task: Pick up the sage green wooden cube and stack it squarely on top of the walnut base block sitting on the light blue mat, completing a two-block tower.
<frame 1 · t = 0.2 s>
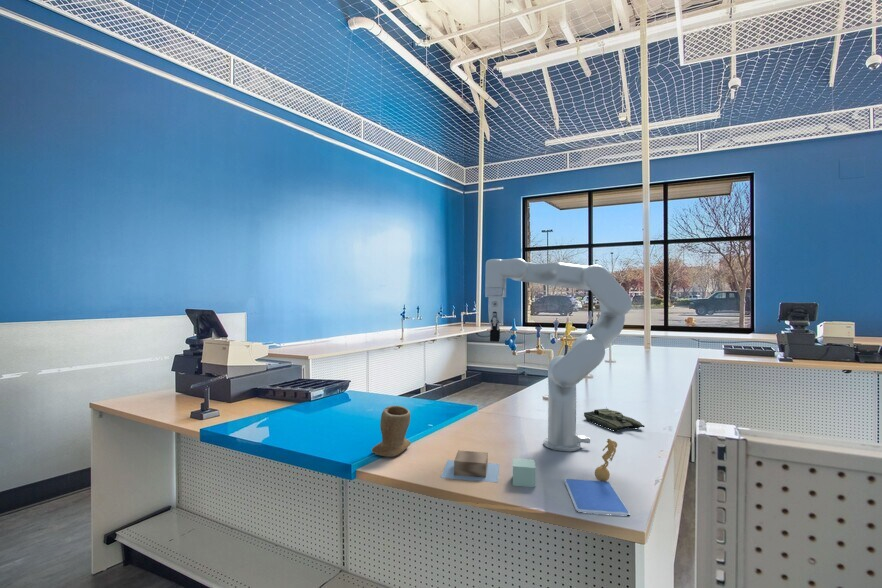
hand: (495, 340, 156), 37 cm above the countertop, tool pointing down, fingers open, 9 cm apart
toy tank: (617, 428, 177), on the countertop
sage cube: (523, 484, 119), on the countertop
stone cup: (394, 452, 144), on the countertop
figurine: (605, 481, 122), on the countertop
light blue mat: (471, 473, 126), on the countertop
tablet computer: (594, 499, 112), on the countertop
walnut base block: (471, 470, 126), point 1 cm above the countertop, touching light blue mat
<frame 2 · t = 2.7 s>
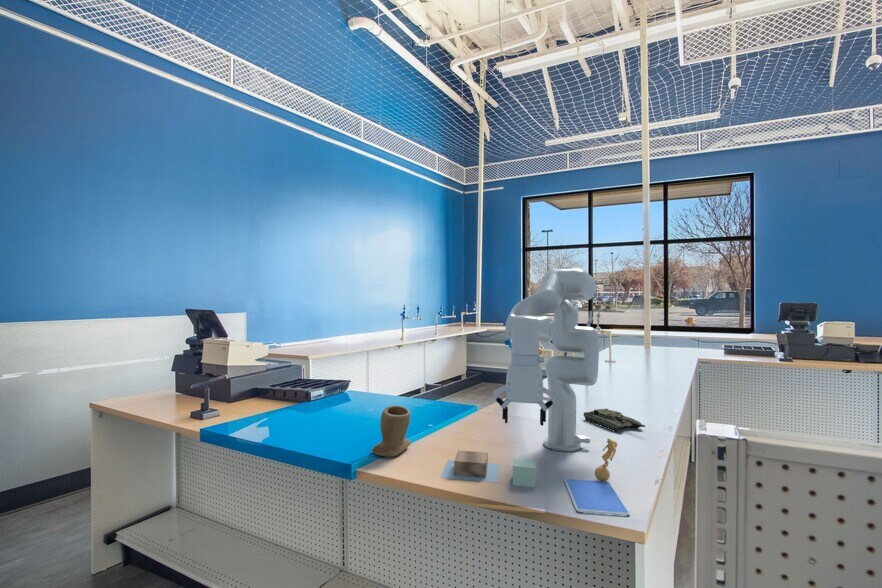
hand: (523, 423, 119), 17 cm above the countertop, tool pointing down, fingers open, 9 cm apart
nothing on the countertop moved.
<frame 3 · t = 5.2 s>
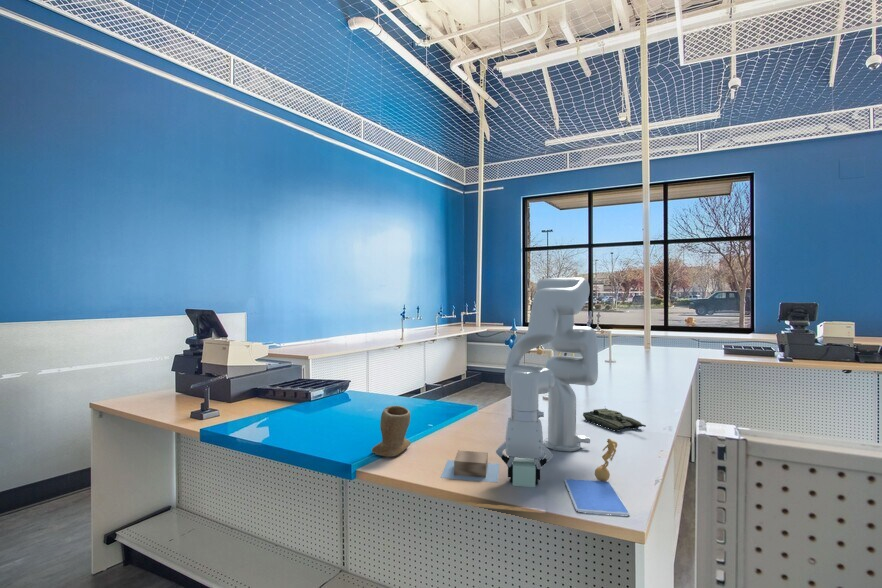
hand: (523, 480, 119), 1 cm above the countertop, tool pointing down, fingers closed on sage cube, 6 cm apart
sage cube: (523, 484, 119), on the countertop, touching gripper
everything else where it was.
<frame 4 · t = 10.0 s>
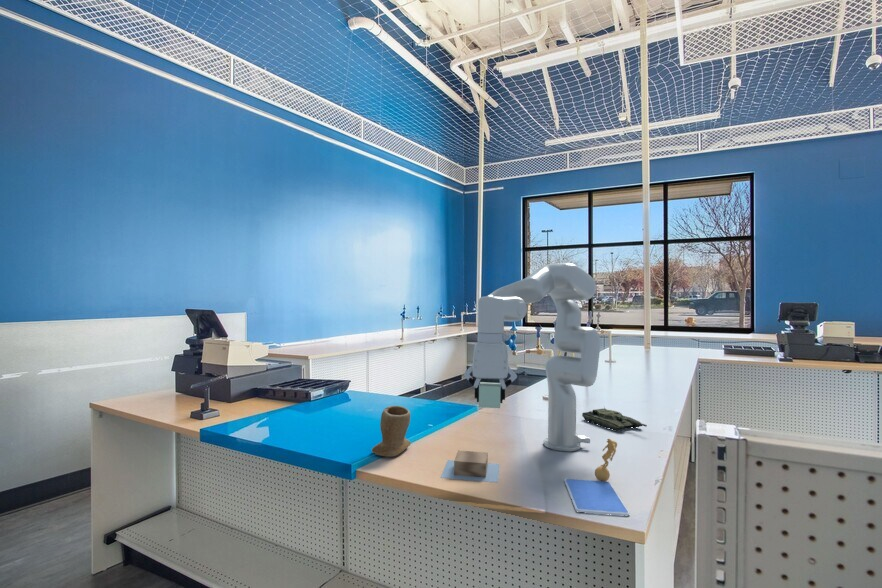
hand: (489, 401, 124), 22 cm above the countertop, tool pointing down, fingers closed on sage cube, 6 cm apart
sage cube: (489, 405, 124), point 20 cm above the countertop, touching gripper
everything else where it was.
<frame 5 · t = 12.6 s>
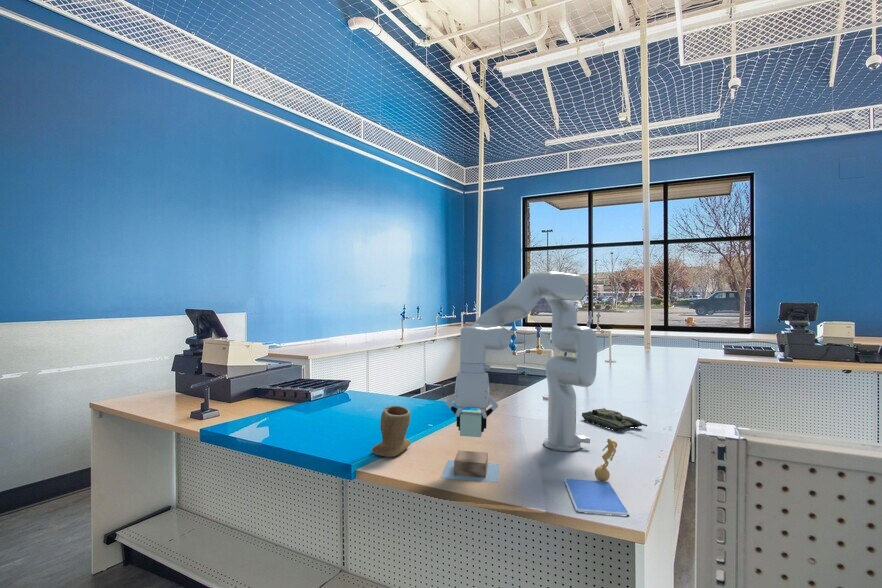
hand: (471, 429, 126), 13 cm above the countertop, tool pointing down, fingers closed on sage cube, 6 cm apart
sage cube: (471, 433, 126), point 12 cm above the countertop, touching gripper
everything else where it was.
when the fingers open (7 cm above the countertop, at t = 14.8 s): sage cube drops 1 cm, resting on walnut base block.
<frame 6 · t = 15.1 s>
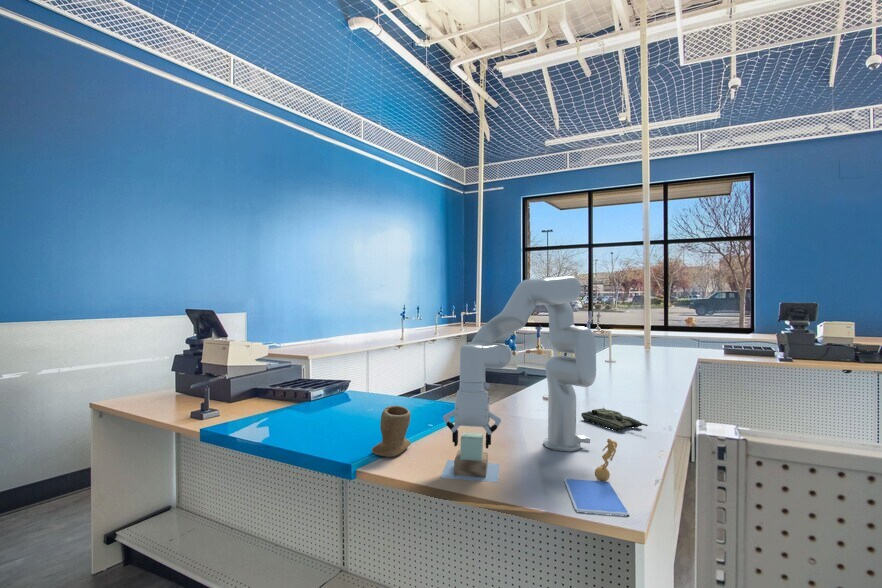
hand: (471, 445, 126), 8 cm above the countertop, tool pointing down, fingers open, 8 cm apart
sage cube: (471, 456, 126), point 5 cm above the countertop, touching walnut base block
walnut base block: (471, 470, 126), point 1 cm above the countertop, touching light blue mat, sage cube
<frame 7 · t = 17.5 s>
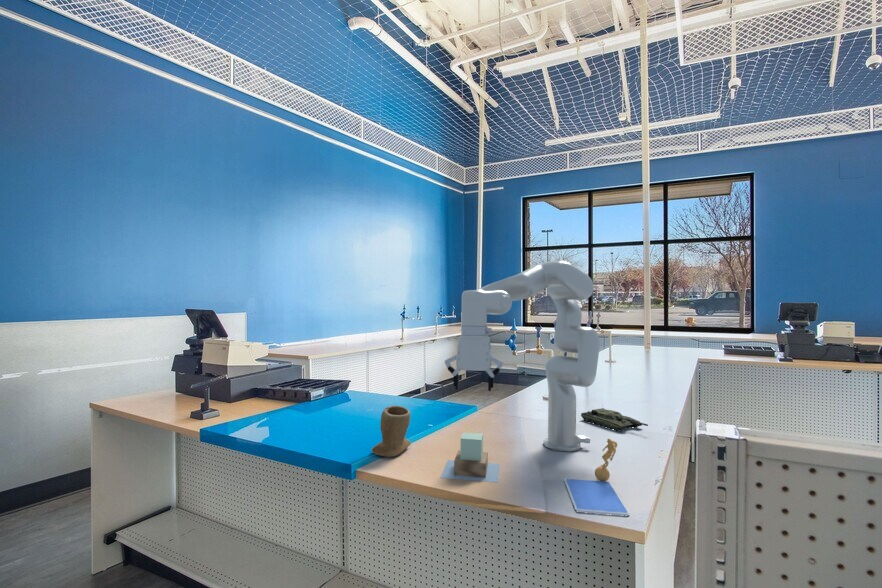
hand: (473, 389, 127), 24 cm above the countertop, tool pointing down, fingers open, 9 cm apart
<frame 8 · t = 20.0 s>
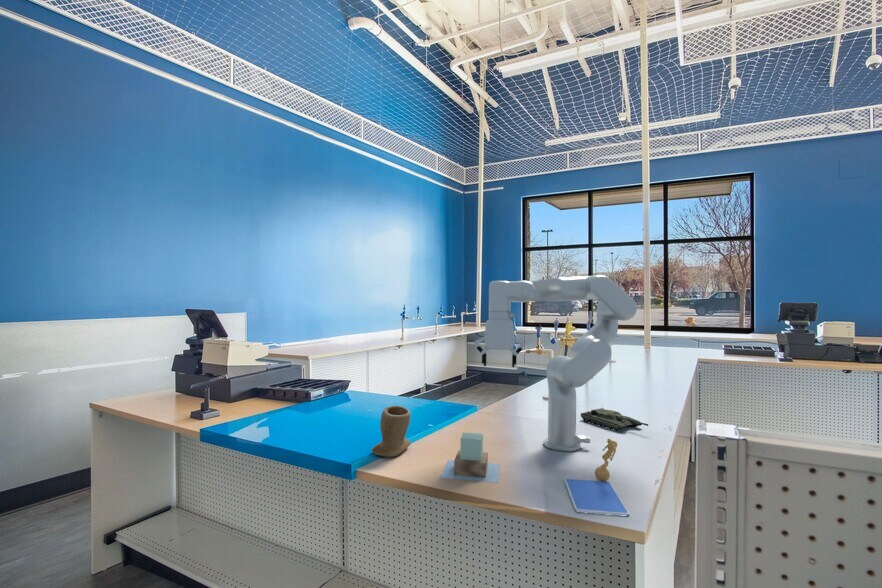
hand: (499, 366, 148), 28 cm above the countertop, tool pointing down, fingers open, 9 cm apart
at the end: sage cube 0.1 cm off-centre on the walnut base block, point 4.0 cm above the walnut base block's base; sage cube tilted 0°; the gripper is holding nothing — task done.
